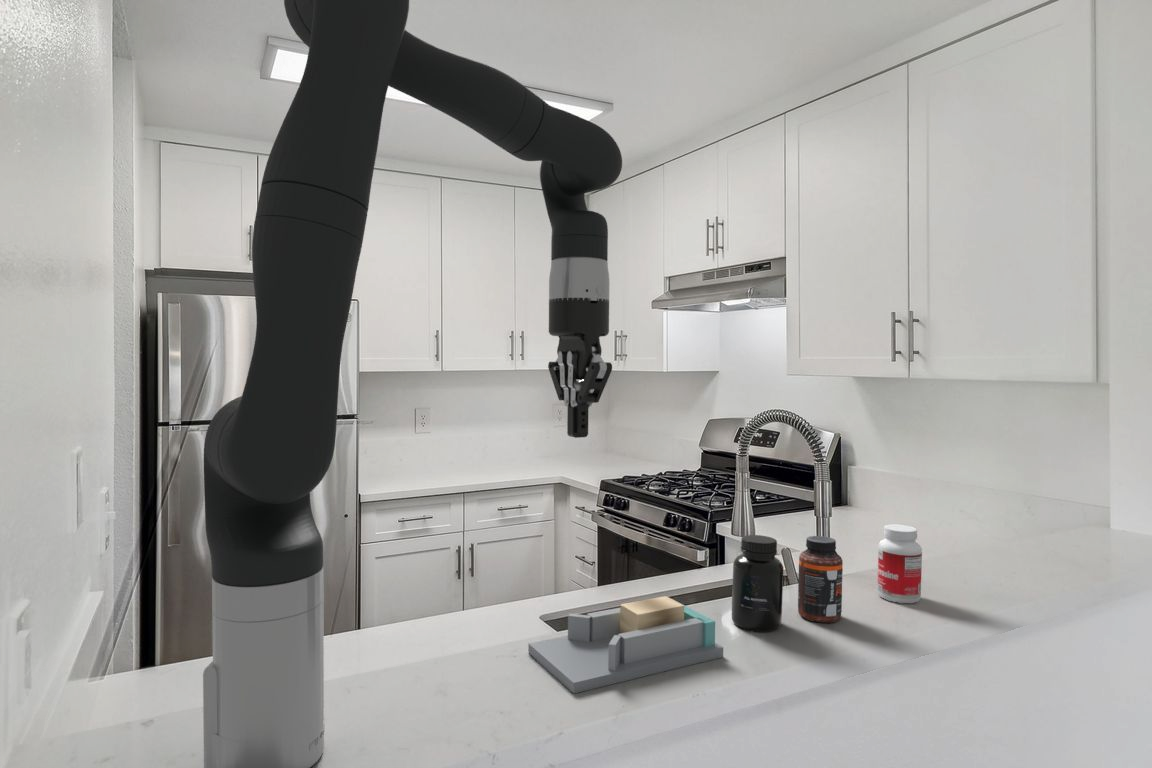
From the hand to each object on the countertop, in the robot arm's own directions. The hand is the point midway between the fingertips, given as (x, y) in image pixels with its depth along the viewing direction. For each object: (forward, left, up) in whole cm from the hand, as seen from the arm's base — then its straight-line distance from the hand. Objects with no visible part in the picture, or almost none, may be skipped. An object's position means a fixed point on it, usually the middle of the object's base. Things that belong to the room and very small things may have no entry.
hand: (577, 436), depth 88 cm
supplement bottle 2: (+36, +9, -27) cm, 46 cm away
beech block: (+10, -1, -26) cm, 28 cm away
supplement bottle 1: (+26, +7, -27) cm, 38 cm away
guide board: (+6, -2, -27) cm, 28 cm away
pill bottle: (+52, +16, -27) cm, 61 cm away
